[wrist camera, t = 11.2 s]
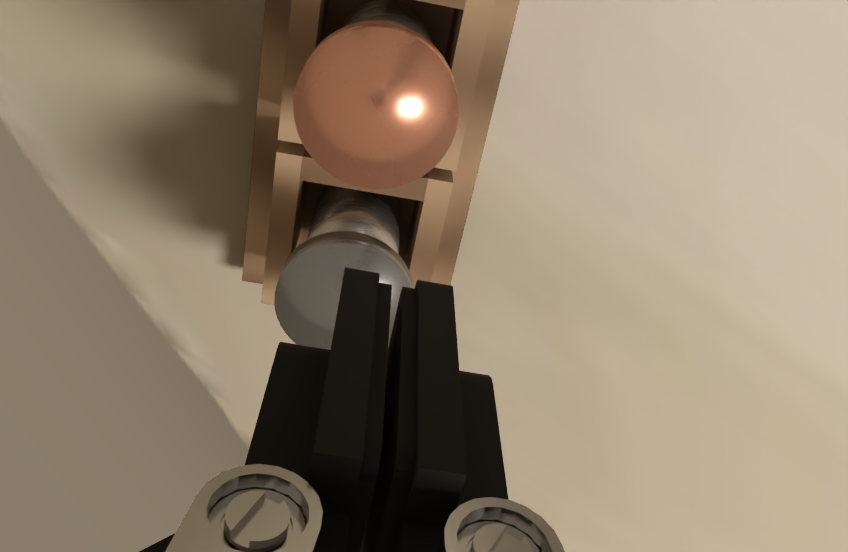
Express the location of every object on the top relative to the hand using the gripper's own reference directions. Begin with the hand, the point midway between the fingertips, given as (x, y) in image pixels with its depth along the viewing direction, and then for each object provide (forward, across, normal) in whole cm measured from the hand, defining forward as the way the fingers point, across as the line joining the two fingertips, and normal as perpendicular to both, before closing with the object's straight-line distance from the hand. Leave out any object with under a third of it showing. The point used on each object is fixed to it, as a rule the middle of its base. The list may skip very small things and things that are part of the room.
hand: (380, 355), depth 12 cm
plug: (+21, +1, +8) cm, 23 cm away
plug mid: (+21, +1, 0) cm, 21 cm away
